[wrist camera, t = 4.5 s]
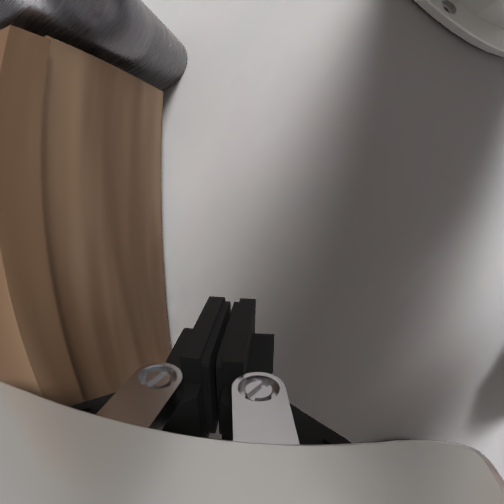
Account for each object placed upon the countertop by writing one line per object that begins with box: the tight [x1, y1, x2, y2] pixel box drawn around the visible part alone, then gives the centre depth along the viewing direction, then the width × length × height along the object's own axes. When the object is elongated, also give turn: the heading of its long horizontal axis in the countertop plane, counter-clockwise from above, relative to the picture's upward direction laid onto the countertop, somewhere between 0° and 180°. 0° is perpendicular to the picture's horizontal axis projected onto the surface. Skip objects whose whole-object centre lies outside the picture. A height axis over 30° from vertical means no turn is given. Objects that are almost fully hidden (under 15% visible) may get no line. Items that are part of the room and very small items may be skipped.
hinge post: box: [0, 0, 187, 90], centre depth 7 cm, size 3×3×11 cm
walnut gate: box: [0, 25, 171, 407], centre depth 10 cm, size 2×19×9 cm, turn 178°
